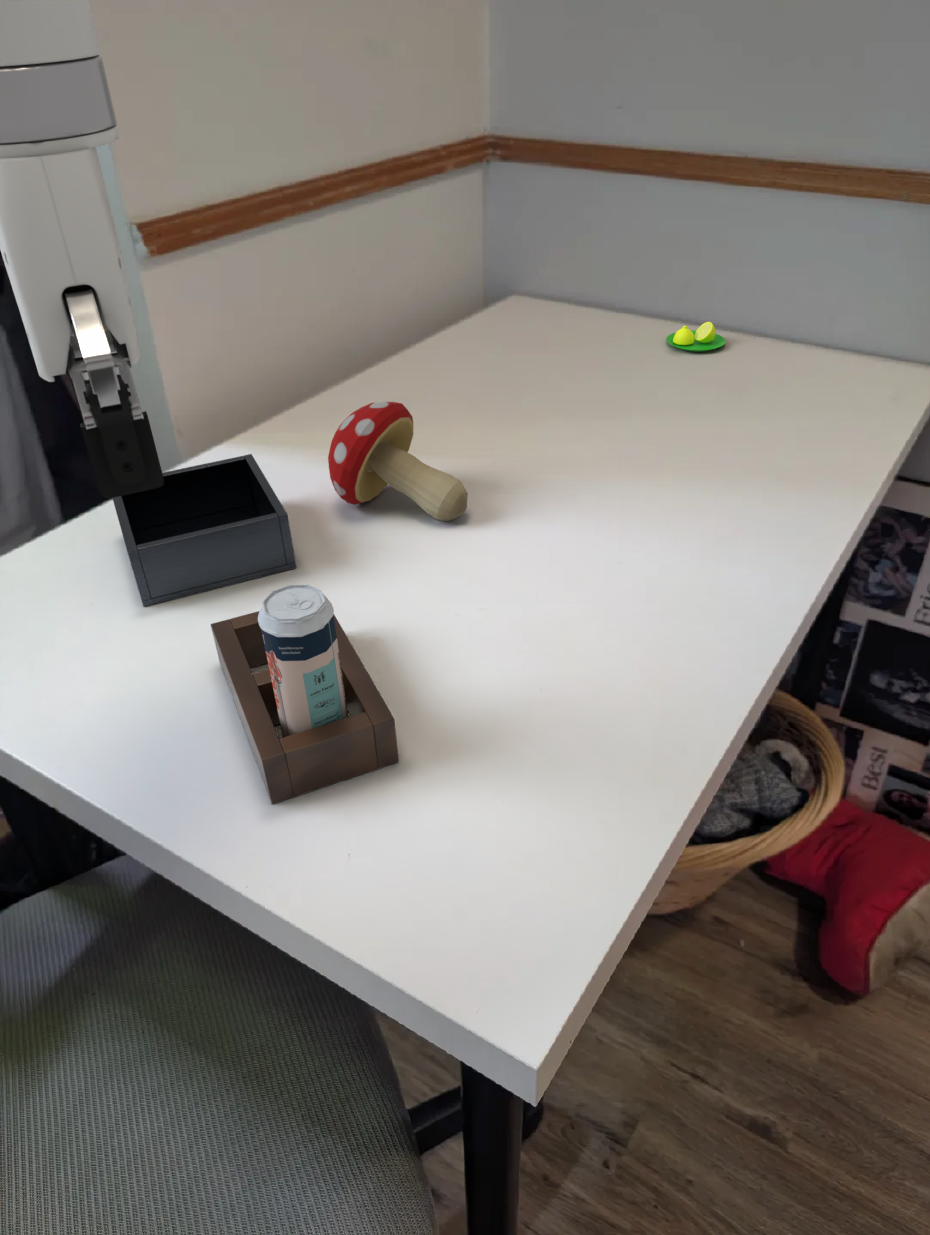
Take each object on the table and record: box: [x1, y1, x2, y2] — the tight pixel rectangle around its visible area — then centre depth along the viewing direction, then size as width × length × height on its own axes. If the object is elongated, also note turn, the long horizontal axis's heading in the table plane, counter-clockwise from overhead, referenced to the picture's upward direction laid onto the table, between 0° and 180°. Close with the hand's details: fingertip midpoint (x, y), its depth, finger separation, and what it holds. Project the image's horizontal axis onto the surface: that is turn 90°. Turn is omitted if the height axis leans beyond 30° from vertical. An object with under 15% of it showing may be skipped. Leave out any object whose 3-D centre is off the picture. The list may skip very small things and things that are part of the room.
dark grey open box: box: [112, 453, 297, 607], centre depth 85 cm, size 14×14×6 cm
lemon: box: [665, 321, 726, 353], centre depth 126 cm, size 8×8×3 cm
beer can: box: [258, 584, 349, 738], centre depth 61 cm, size 5×5×12 cm
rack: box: [210, 610, 400, 805], centre depth 66 cm, size 9×16×4 cm, turn 24°
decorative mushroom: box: [327, 401, 468, 522], centre depth 90 cm, size 11×11×15 cm
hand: (122, 454), depth 52 cm, fingers open, 9 cm apart
